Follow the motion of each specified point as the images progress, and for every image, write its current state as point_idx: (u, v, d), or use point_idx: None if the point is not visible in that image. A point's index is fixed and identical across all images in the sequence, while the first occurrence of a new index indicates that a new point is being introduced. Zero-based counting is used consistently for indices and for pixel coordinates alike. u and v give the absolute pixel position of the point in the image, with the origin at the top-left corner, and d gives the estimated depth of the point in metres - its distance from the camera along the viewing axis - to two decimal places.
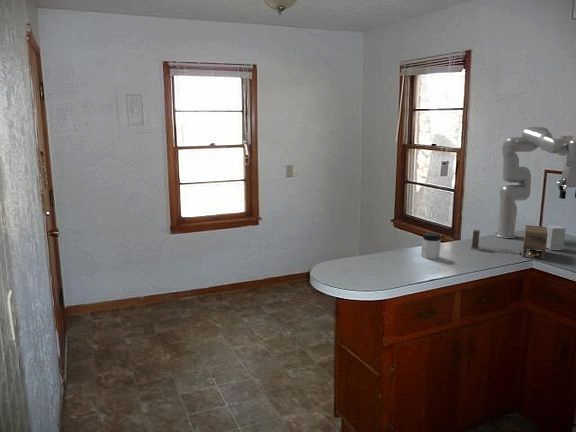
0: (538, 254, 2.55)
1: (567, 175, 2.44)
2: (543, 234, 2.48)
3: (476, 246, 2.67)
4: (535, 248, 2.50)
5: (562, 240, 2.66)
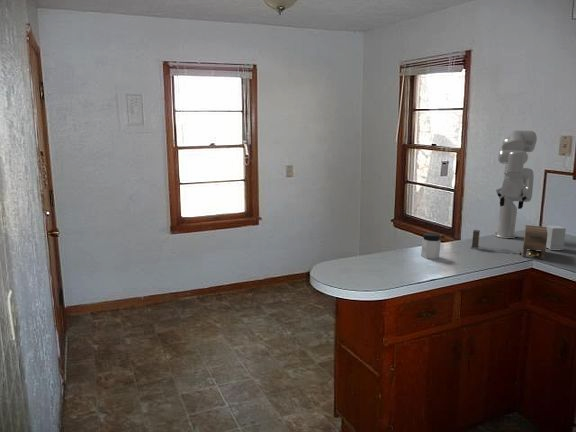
0: (538, 254, 2.55)
1: (523, 185, 2.54)
2: (543, 234, 2.48)
3: (476, 246, 2.67)
4: (535, 248, 2.50)
5: (562, 240, 2.66)
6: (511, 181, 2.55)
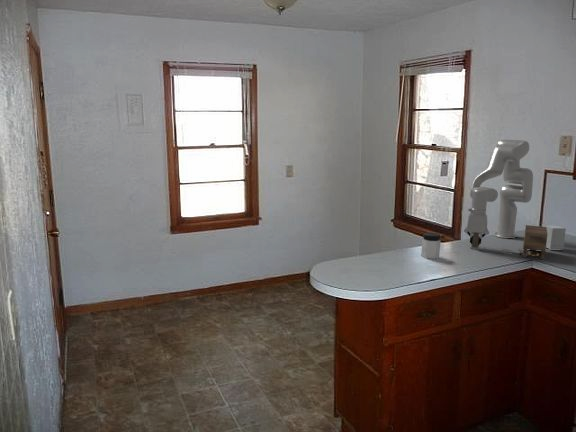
0: (538, 254, 2.55)
1: None
2: (543, 234, 2.48)
3: (476, 246, 2.67)
4: (535, 248, 2.50)
5: (562, 240, 2.66)
6: (477, 218, 2.63)
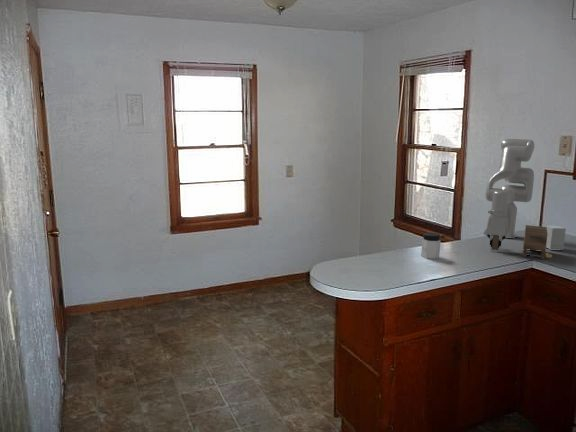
0: (551, 255, 2.52)
1: None
2: (543, 234, 2.48)
3: (496, 248, 2.63)
4: (535, 248, 2.50)
5: (562, 240, 2.66)
6: (497, 220, 2.59)
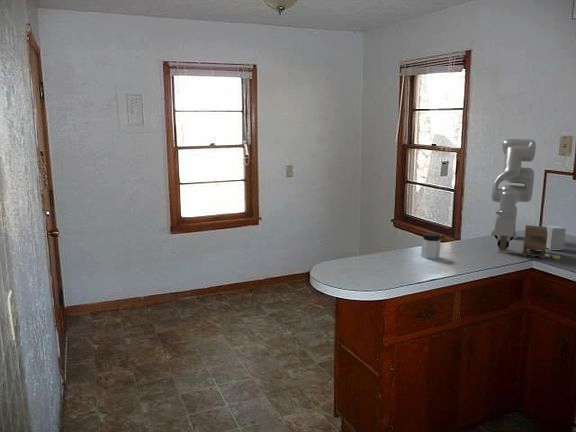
0: (559, 257, 2.51)
1: None
2: (543, 234, 2.48)
3: (504, 249, 2.61)
4: (535, 248, 2.50)
5: (562, 240, 2.66)
6: (505, 221, 2.57)
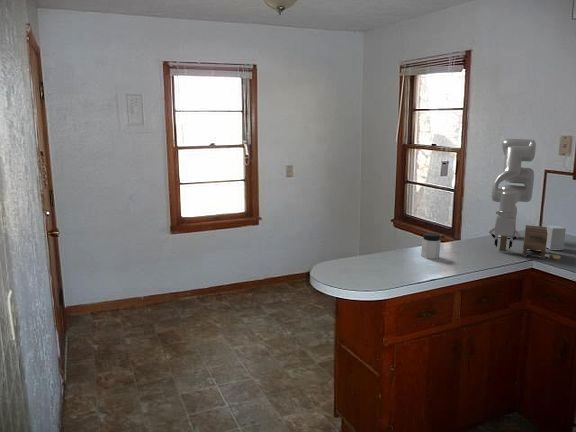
0: (559, 257, 2.51)
1: None
2: (543, 234, 2.48)
3: (504, 249, 2.61)
4: (535, 248, 2.50)
5: (562, 240, 2.66)
6: (505, 221, 2.57)
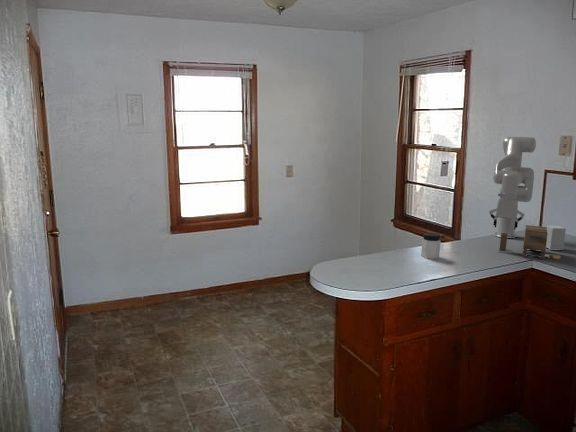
0: (559, 257, 2.51)
1: None
2: (543, 234, 2.48)
3: (504, 249, 2.61)
4: (535, 248, 2.50)
5: (562, 240, 2.66)
6: (507, 203, 2.56)
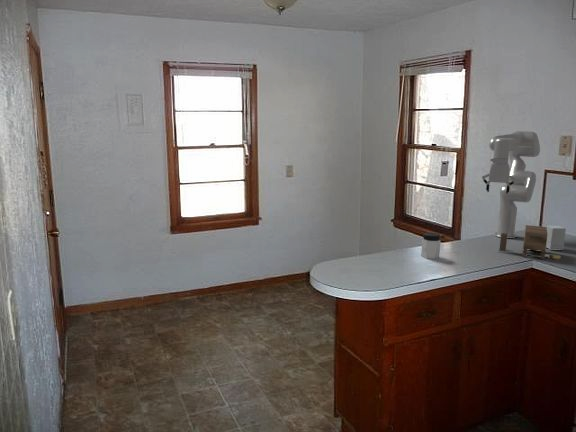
0: (560, 257, 2.51)
1: None
2: (543, 234, 2.48)
3: (504, 249, 2.61)
4: (535, 248, 2.50)
5: (562, 240, 2.66)
6: (499, 167, 2.64)
